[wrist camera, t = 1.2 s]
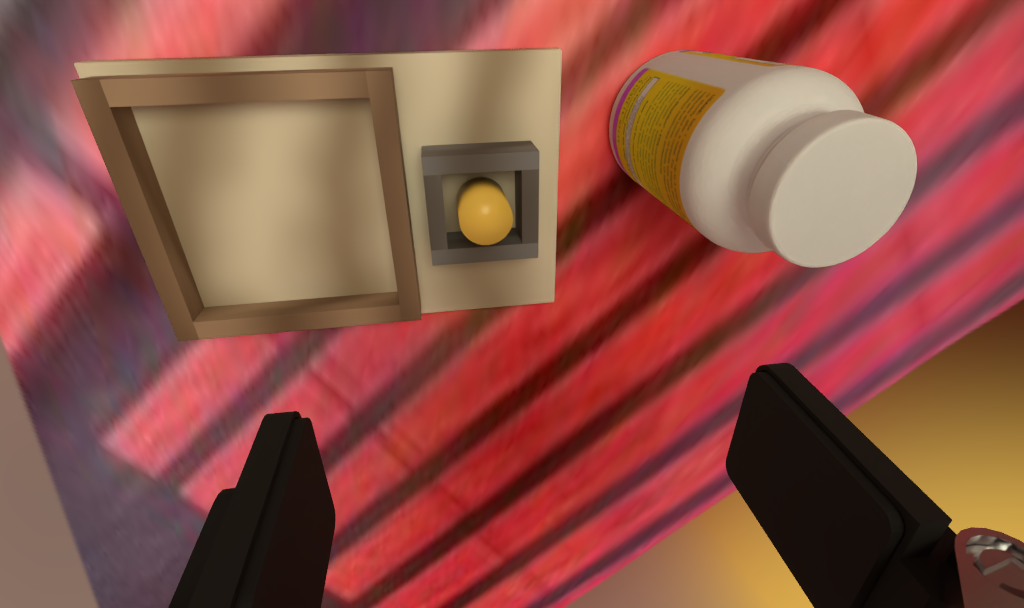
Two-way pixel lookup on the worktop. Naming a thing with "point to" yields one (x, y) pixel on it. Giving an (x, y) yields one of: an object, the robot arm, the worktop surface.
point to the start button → (483, 211)
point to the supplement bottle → (763, 155)
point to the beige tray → (330, 182)
